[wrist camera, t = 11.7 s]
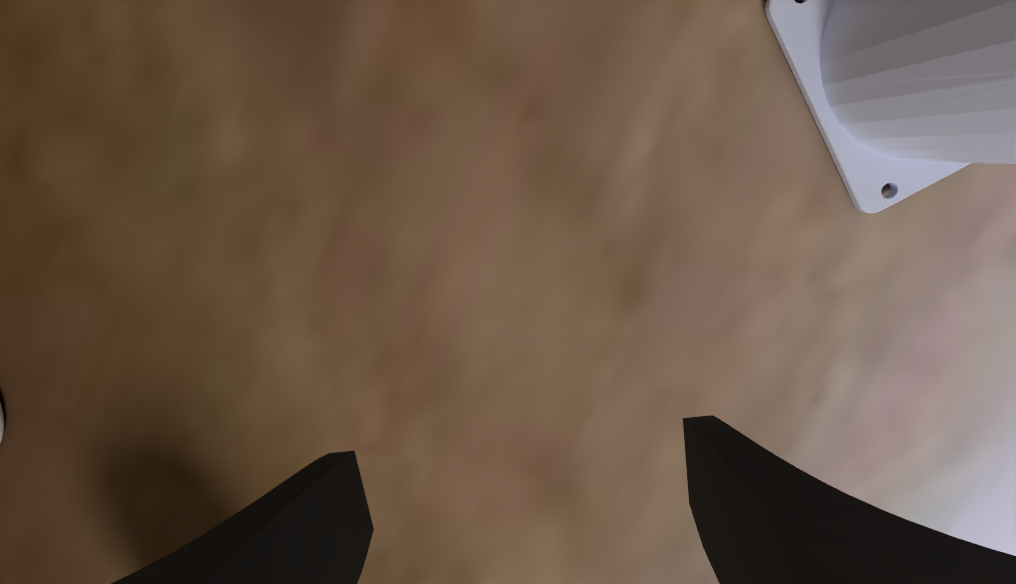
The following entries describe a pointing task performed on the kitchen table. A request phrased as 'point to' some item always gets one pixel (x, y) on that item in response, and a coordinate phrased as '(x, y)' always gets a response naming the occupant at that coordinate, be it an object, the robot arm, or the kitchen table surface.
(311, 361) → the kitchen table surface
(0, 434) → the pill bottle
